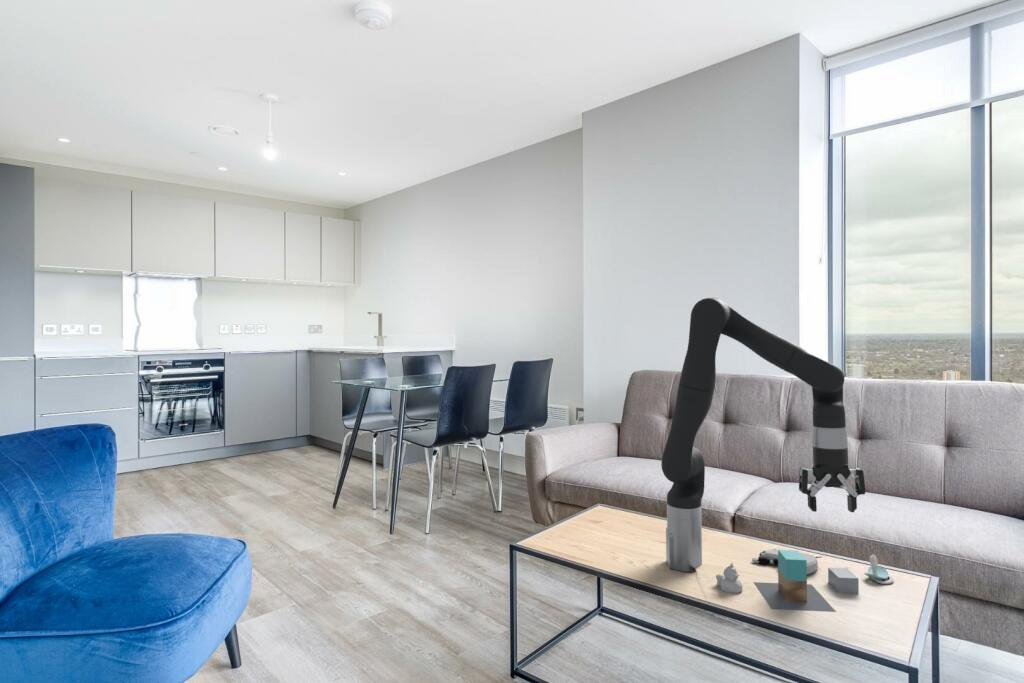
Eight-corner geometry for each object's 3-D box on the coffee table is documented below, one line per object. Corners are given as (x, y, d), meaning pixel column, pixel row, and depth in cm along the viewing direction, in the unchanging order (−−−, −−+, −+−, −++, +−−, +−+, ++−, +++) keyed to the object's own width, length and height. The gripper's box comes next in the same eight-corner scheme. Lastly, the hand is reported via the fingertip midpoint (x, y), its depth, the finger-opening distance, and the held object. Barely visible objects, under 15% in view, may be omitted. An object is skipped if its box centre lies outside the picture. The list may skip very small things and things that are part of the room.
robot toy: (749, 571, 156) (805, 584, 144) (748, 554, 156) (804, 566, 144) (770, 559, 163) (825, 571, 152) (769, 543, 164) (824, 554, 152)
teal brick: (786, 580, 133) (786, 559, 133) (778, 569, 139) (778, 549, 139) (806, 581, 132) (806, 560, 132) (797, 570, 138) (797, 550, 138)
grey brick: (838, 598, 137) (838, 577, 137) (828, 587, 143) (828, 567, 143) (858, 598, 136) (858, 578, 136) (847, 587, 142) (847, 568, 142)
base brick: (787, 601, 133) (786, 580, 133) (778, 590, 139) (778, 569, 139) (807, 602, 132) (806, 581, 132) (797, 590, 138) (797, 570, 138)
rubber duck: (736, 601, 136) (736, 568, 136) (711, 592, 141) (710, 560, 141) (746, 593, 140) (746, 561, 140) (721, 585, 145) (721, 554, 145)
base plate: (771, 613, 130) (771, 608, 130) (753, 586, 143) (753, 582, 143) (836, 616, 128) (836, 611, 128) (811, 589, 142) (811, 584, 142)
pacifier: (896, 579, 147) (869, 572, 151) (897, 555, 147) (870, 549, 151) (889, 588, 142) (862, 580, 146) (890, 564, 142) (863, 556, 146)
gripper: (804, 447, 135) (806, 515, 135) (868, 447, 133) (871, 516, 133) (793, 442, 143) (796, 506, 142) (854, 442, 140) (857, 507, 140)
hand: (832, 511), depth 138 cm, fingers open, 8 cm apart
